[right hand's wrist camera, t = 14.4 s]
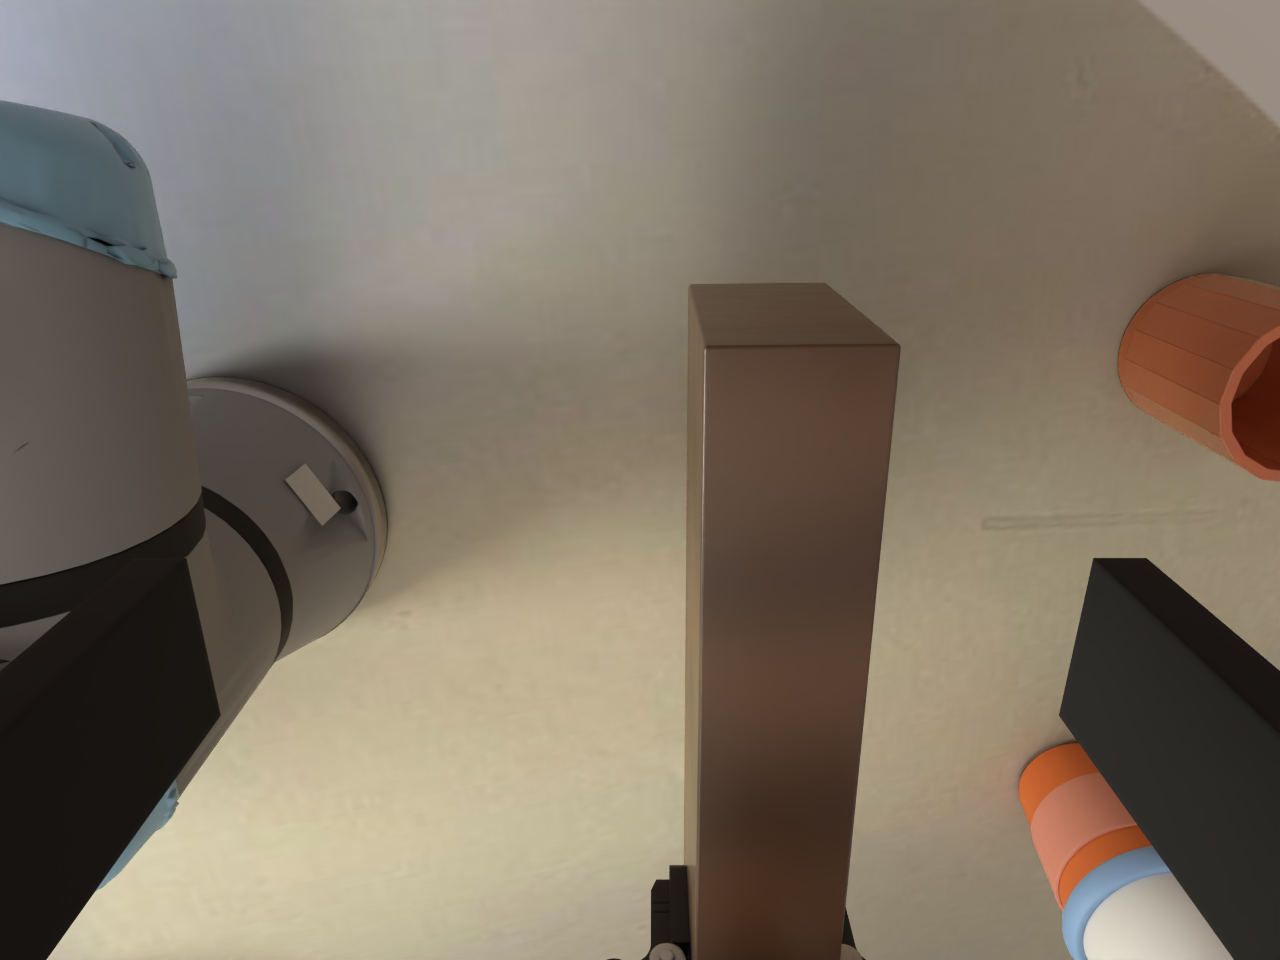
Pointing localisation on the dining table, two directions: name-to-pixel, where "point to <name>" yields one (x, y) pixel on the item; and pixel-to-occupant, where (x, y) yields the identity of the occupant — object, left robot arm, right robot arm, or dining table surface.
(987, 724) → the dining table surface
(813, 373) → the walnut box
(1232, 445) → the terracotta cup
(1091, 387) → the dining table surface
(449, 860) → the dining table surface
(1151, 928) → the cup with straw
